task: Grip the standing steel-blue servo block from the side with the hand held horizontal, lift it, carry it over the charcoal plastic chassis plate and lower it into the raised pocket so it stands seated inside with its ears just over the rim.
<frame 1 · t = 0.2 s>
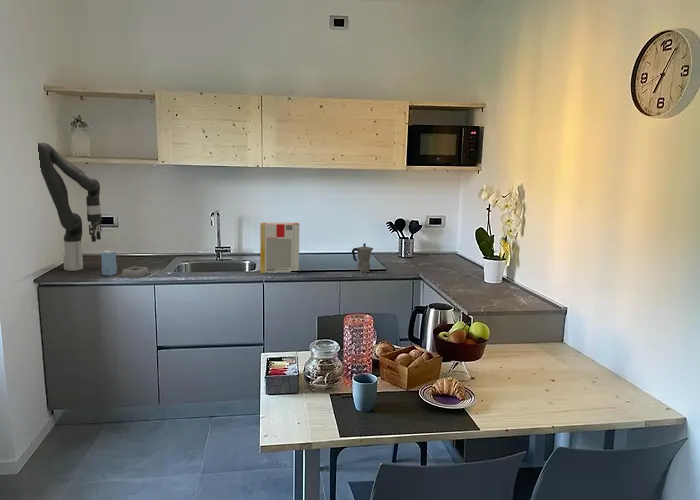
hand: (96, 240, 319), 17 cm above the table, fingers open, 8 cm apart
coffeepot: (361, 272, 338), on the table
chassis: (135, 275, 311), on the table
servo: (109, 274, 312), on the table
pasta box: (279, 272, 331), on the table
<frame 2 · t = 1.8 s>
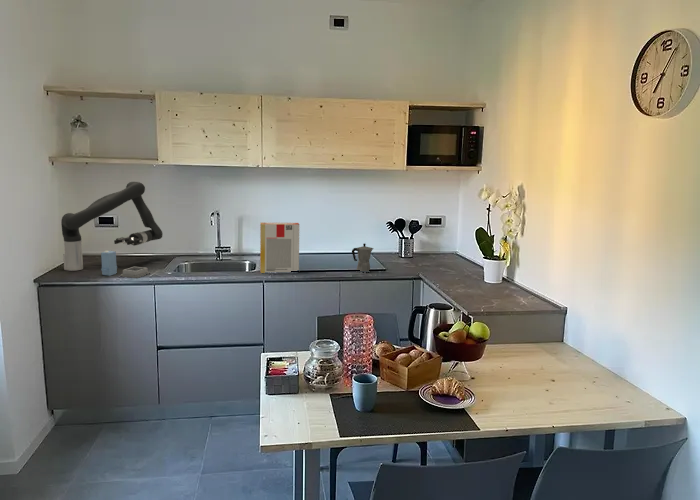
hand: (121, 242, 319), 17 cm above the table, fingers open, 8 cm apart
nothing on the table moved.
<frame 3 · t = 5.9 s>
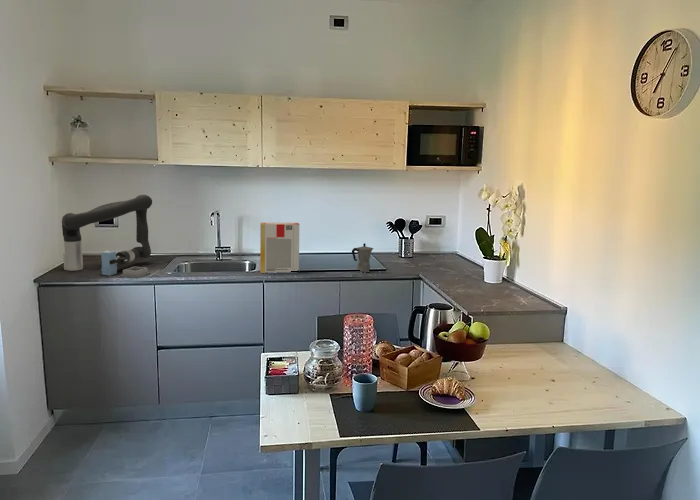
hand: (106, 262, 308), 8 cm above the table, fingers closed on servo, 5 cm apart
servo: (109, 274, 312), on the table, touching gripper
everything else where it was.
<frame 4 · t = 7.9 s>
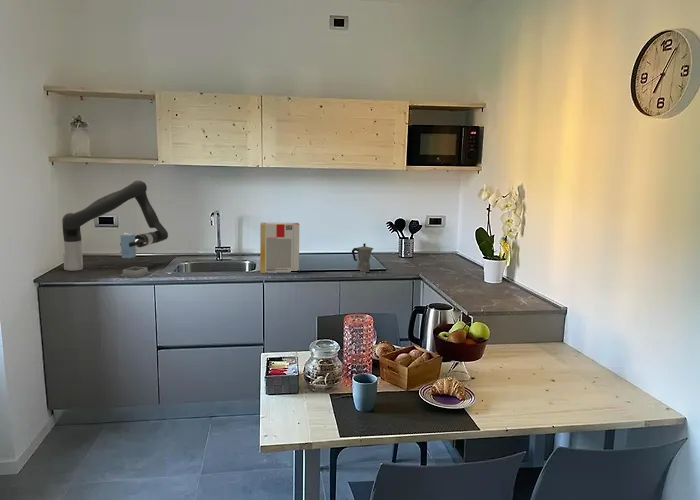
hand: (125, 244, 306), 18 cm above the table, fingers closed on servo, 5 cm apart
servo: (128, 256, 310), point 10 cm above the table, touching gripper
everything else where it was.
when the fingers open (10 cm above the table, at t = 10.1 s): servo drops 1 cm, resting on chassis.
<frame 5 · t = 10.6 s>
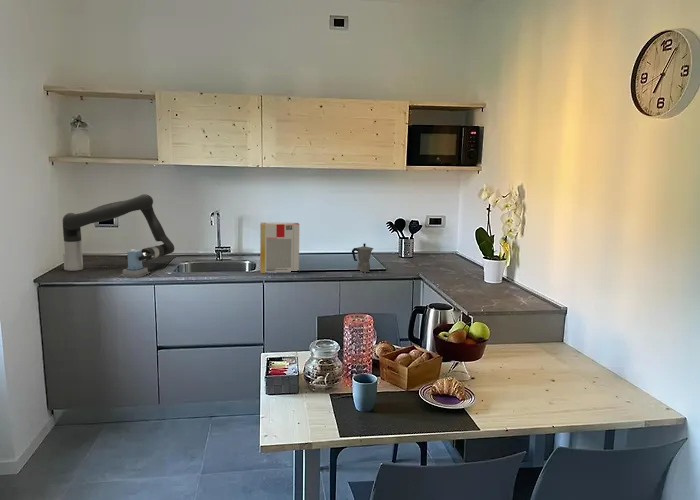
hand: (132, 258, 308), 10 cm above the table, fingers open, 8 cm apart
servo: (135, 273, 311), point 1 cm above the table, touching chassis
everything else where it was.
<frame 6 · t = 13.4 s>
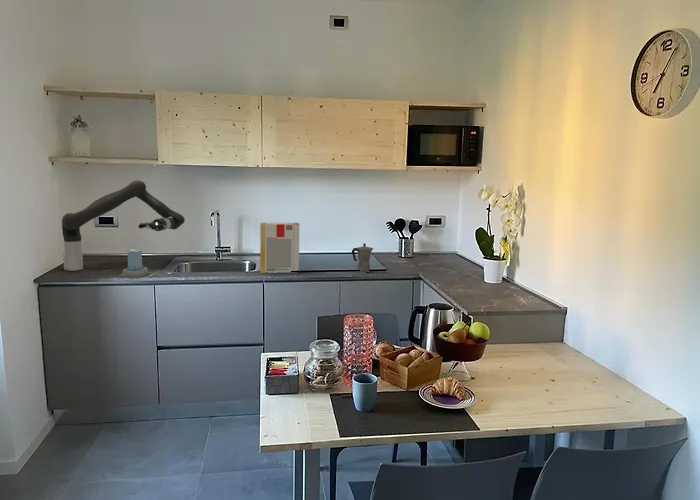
hand: (145, 227, 317), 26 cm above the table, fingers open, 8 cm apart
nothing on the table moved.
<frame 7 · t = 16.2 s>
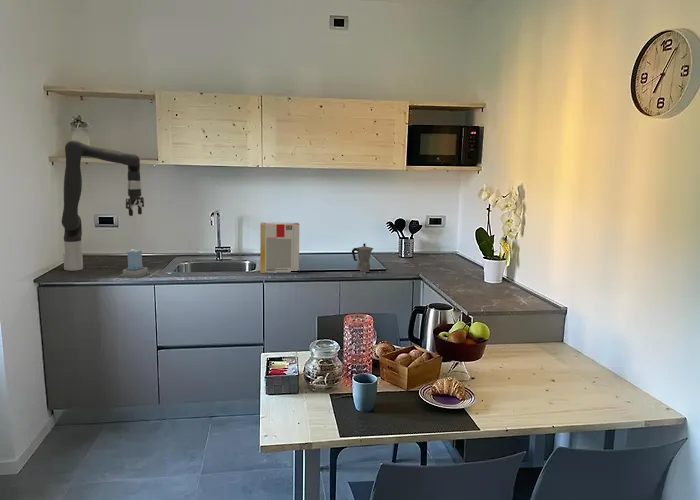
hand: (135, 215, 327), 32 cm above the table, fingers open, 8 cm apart
nothing on the table moved.
at the end: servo 0.0 cm off-centre on the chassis, point 1.2 cm above the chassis's base; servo tilted 0°; the gripper is holding nothing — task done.
